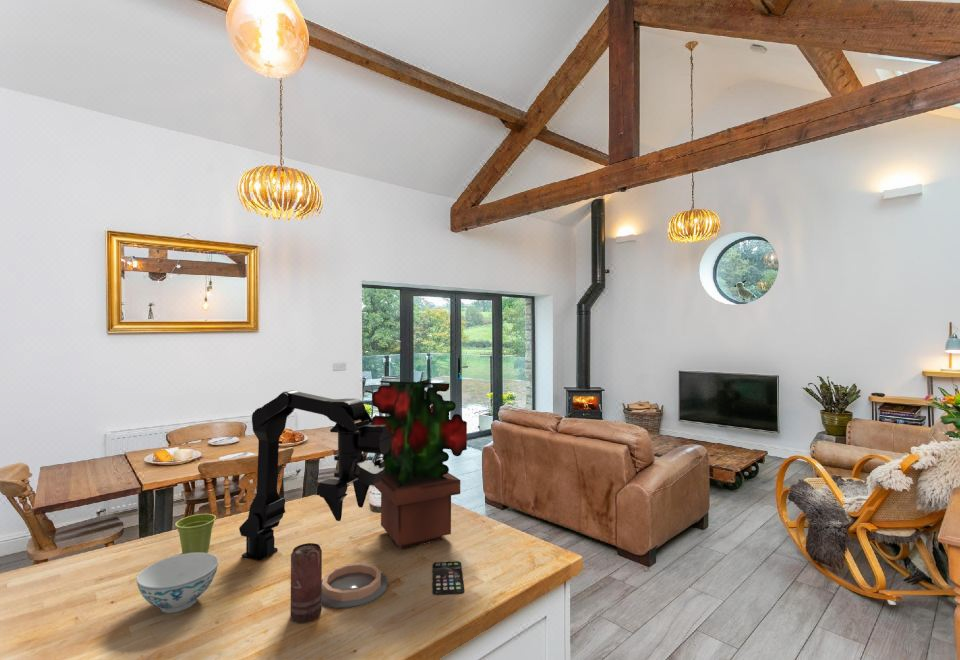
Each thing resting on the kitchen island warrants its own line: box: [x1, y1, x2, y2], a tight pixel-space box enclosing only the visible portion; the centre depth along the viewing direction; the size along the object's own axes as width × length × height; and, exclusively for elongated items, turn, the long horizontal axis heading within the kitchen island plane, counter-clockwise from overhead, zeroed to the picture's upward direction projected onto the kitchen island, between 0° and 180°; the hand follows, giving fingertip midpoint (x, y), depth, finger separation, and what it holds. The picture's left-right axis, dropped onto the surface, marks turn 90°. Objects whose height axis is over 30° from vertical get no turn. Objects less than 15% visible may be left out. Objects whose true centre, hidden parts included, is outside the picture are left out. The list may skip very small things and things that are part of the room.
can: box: [289, 542, 323, 624], centre depth 99 cm, size 6×6×14 cm
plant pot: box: [174, 513, 217, 554], centre depth 126 cm, size 9×9×9 cm
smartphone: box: [431, 560, 465, 596], centre depth 114 cm, size 7×1×15 cm
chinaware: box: [136, 552, 219, 614], centre depth 103 cm, size 15×15×8 cm
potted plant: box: [371, 378, 468, 550], centre depth 137 cm, size 22×22×45 cm
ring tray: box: [321, 562, 388, 609], centre depth 109 cm, size 16×16×3 cm
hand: (349, 513), depth 116 cm, fingers open, 9 cm apart
